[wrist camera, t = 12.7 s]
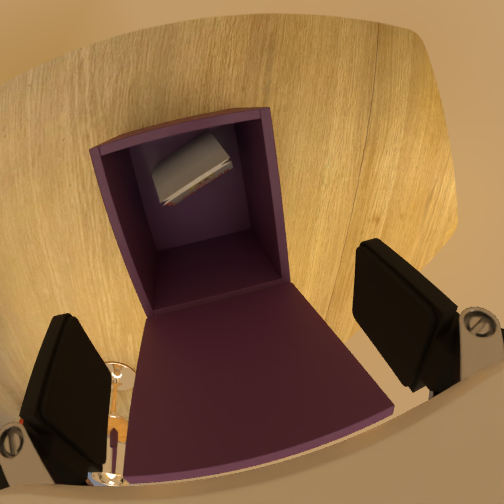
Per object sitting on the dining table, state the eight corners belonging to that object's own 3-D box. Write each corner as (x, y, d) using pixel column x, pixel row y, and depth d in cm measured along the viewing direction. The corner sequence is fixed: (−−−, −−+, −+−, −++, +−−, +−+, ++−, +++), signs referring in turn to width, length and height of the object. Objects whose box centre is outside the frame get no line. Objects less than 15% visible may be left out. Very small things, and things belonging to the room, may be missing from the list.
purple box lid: (122, 476, 10) (129, 484, 10) (395, 405, 12) (393, 414, 12) (146, 318, 26) (148, 325, 26) (291, 281, 27) (293, 289, 28)
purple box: (119, 135, 30) (88, 149, 19) (237, 107, 31) (270, 107, 20) (153, 255, 37) (147, 319, 26) (256, 230, 39) (290, 283, 28)
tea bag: (156, 164, 32) (147, 186, 23) (207, 131, 31) (219, 139, 23) (174, 190, 33) (173, 221, 25) (224, 158, 33) (241, 176, 24)
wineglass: (103, 390, 46) (96, 487, 28) (89, 361, 42) (73, 467, 25) (142, 388, 48) (146, 489, 30) (132, 360, 44) (129, 470, 27)
